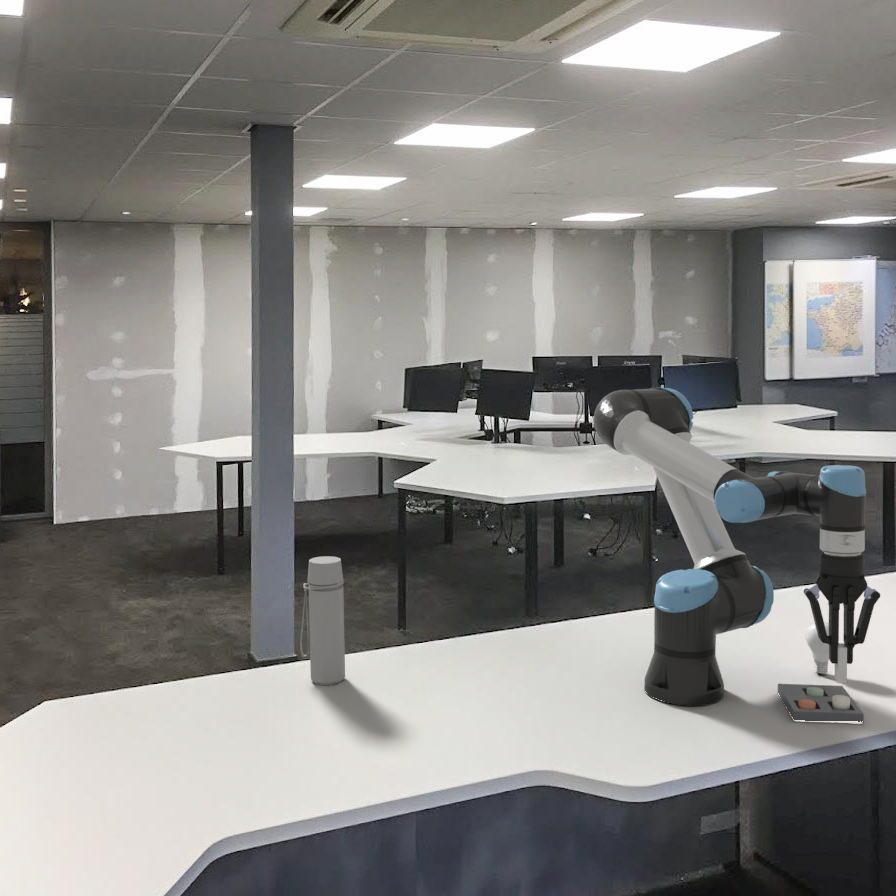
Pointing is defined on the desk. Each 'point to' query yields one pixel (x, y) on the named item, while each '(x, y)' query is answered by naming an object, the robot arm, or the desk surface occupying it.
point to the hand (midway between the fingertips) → (840, 680)
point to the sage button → (815, 691)
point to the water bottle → (325, 620)
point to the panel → (818, 703)
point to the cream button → (840, 702)
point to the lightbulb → (818, 648)
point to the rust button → (806, 704)
